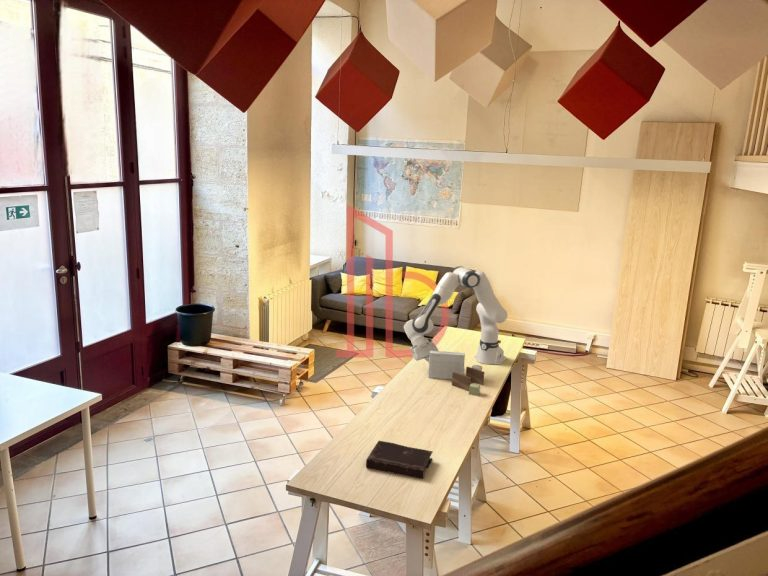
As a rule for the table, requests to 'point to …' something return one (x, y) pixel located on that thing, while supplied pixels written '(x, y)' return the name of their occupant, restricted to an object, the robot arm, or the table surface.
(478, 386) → the olive block
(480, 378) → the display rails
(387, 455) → the diary
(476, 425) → the table surface
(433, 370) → the skincare box
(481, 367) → the grey rounded capsule
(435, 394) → the table surface
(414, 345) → the robot arm
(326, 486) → the table surface
